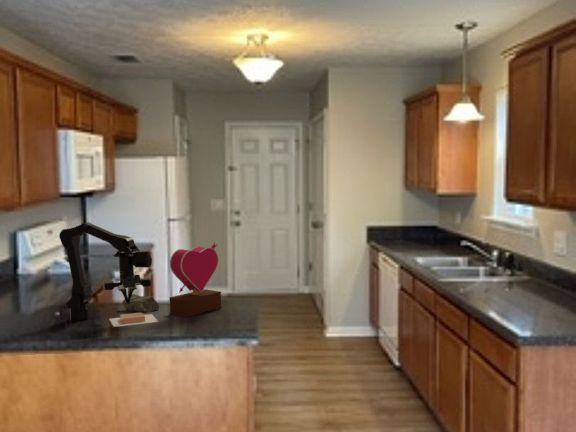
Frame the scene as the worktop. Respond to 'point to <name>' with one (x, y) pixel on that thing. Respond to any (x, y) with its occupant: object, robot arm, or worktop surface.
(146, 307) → the rock
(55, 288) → the worktop surface
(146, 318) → the beige mat
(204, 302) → the heart arrow ornament
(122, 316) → the terracotta tile
